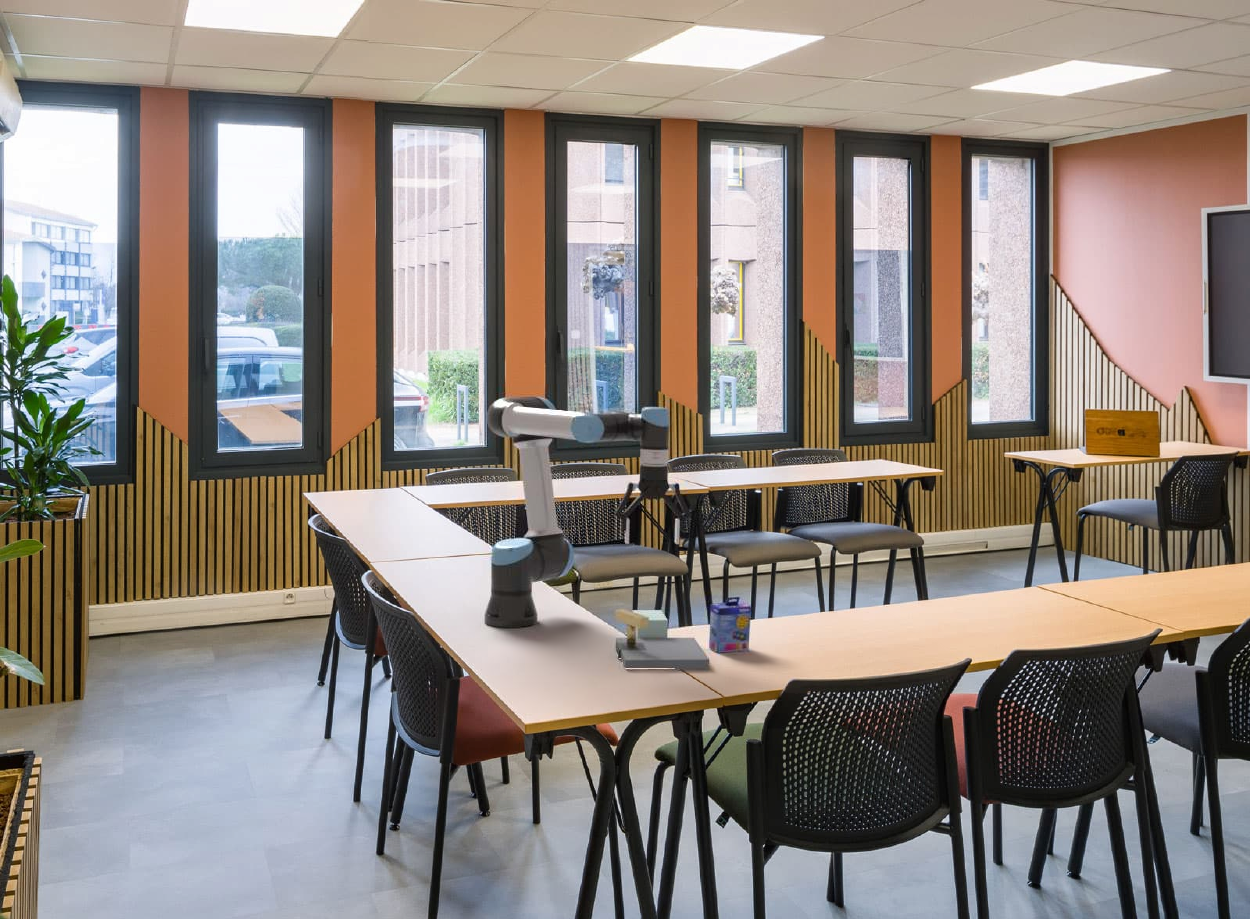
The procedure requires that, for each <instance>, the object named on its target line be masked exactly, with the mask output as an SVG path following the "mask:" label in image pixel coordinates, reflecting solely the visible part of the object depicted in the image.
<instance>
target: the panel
mask: <svg viewBox="0 0 1250 919" xmlns="http://www.w3.org/2000/svg"><path fill="white" fill-rule="evenodd" d="M626 643H627V637H615V653H616V652H617V654H618V657H617V658H621V660H622V661H621V660H620V661H621V663H622V662H623V664H622V666H623V665H624V666H623V668H624V667H625V668H675V669H678V671H679V670H680V671H681V670H685V671H686V670H710V659H709V657H708V656H707V654H706V652H705V651H704V650H703V649H702V647H701V645H700V644H699V643H698V641H697V640H696V639H695V637H667V638H636V645H635V646H628V645H626ZM617 654H616V655H617Z"/></svg>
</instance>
